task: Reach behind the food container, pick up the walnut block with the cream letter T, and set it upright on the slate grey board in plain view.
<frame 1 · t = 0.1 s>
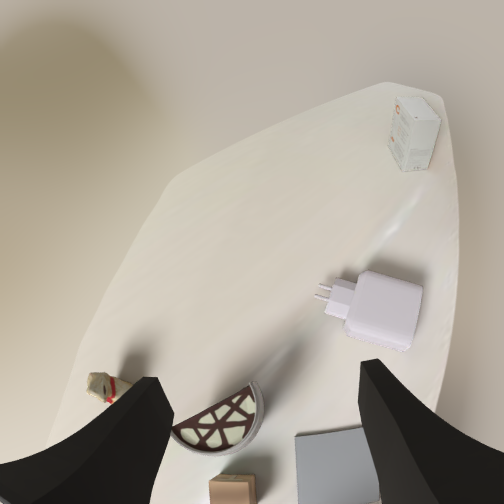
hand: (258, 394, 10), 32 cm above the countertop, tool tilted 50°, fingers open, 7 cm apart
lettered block: (238, 489, 32), on the countertop
chocolate bunny: (128, 396, 41), on the countertop
charger: (363, 311, 42), on the countertop
slate board: (337, 471, 31), on the countertop
food container: (239, 426, 37), on the countertop
small box: (407, 158, 55), on the countertop
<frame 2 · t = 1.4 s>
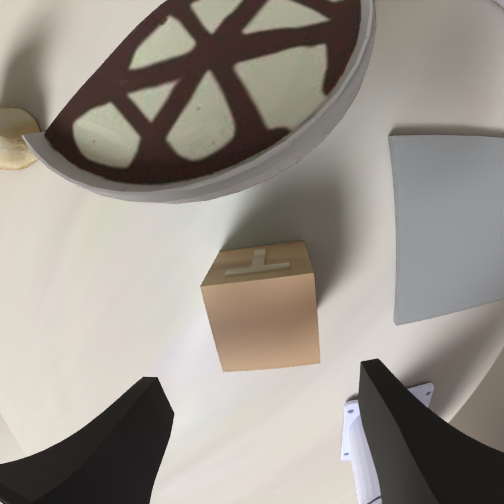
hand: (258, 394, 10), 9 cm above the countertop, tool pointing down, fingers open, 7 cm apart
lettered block: (267, 284, 19), on the countertop
chocolate bunny: (15, 136, 16), on the countertop
slate board: (465, 227, 16), on the countertop
food container: (252, 114, 15), on the countertop
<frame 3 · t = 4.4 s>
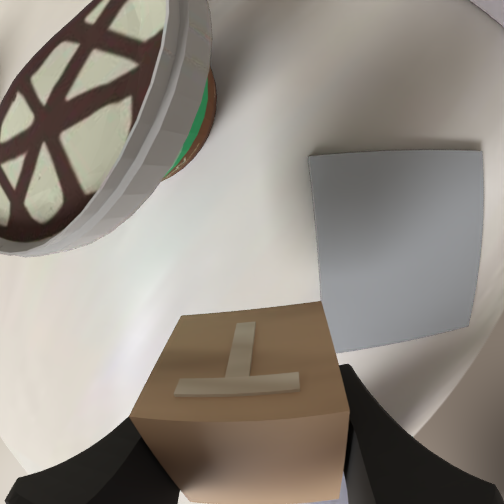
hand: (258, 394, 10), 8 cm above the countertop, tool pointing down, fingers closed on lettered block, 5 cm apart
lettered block: (259, 364, 11), point 7 cm above the countertop, touching gripper
slate board: (407, 253, 16), on the countertop
food container: (164, 142, 15), on the countertop
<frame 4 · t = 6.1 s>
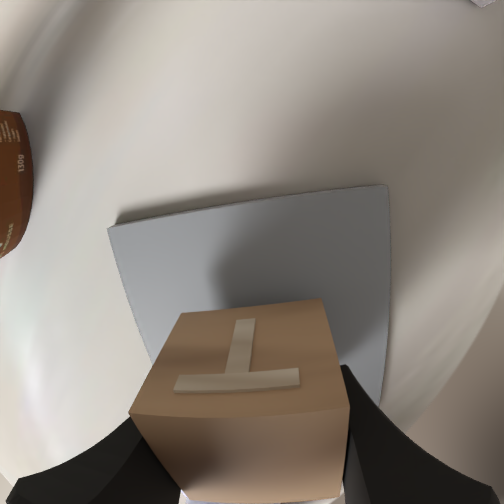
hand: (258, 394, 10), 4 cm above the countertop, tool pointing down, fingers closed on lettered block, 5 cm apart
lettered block: (259, 362, 11), point 2 cm above the countertop, touching gripper
slate board: (263, 337, 13), on the countertop
food container: (7, 213, 12), on the countertop
when the fingers open (4 cm above the countertop, at t = 6.3 s): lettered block drops 1 cm, resting on slate board.
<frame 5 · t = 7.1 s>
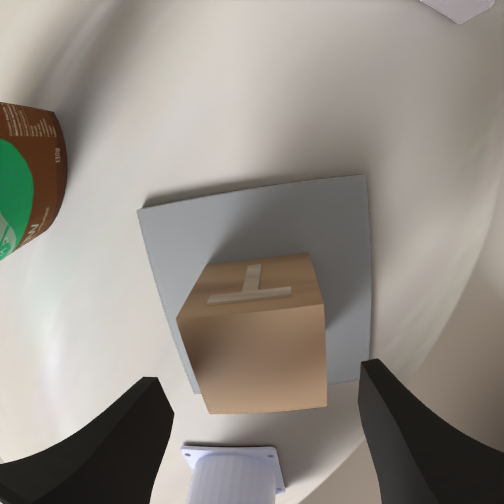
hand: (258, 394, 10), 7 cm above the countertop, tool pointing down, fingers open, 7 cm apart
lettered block: (263, 305, 15), point 1 cm above the countertop, touching slate board
slate board: (266, 302, 16), on the countertop
food container: (39, 200, 15), on the countertop
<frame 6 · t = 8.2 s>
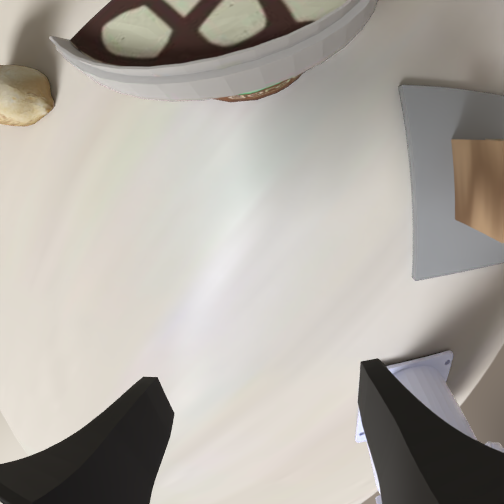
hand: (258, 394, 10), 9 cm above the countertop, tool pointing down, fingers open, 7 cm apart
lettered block: (482, 178, 15), point 1 cm above the countertop, touching slate board
chocolate bunny: (24, 95, 16), on the countertop
slate board: (478, 180, 15), on the countertop
food container: (266, 63, 15), on the countertop
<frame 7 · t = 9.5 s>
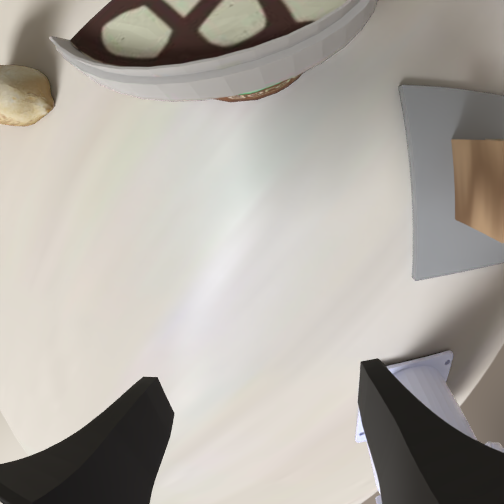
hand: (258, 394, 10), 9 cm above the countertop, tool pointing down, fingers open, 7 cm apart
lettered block: (482, 178, 15), point 1 cm above the countertop, touching slate board
chocolate bunny: (24, 95, 16), on the countertop
slate board: (478, 180, 15), on the countertop
food container: (266, 63, 15), on the countertop
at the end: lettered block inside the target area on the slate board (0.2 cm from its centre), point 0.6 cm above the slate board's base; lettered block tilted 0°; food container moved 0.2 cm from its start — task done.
